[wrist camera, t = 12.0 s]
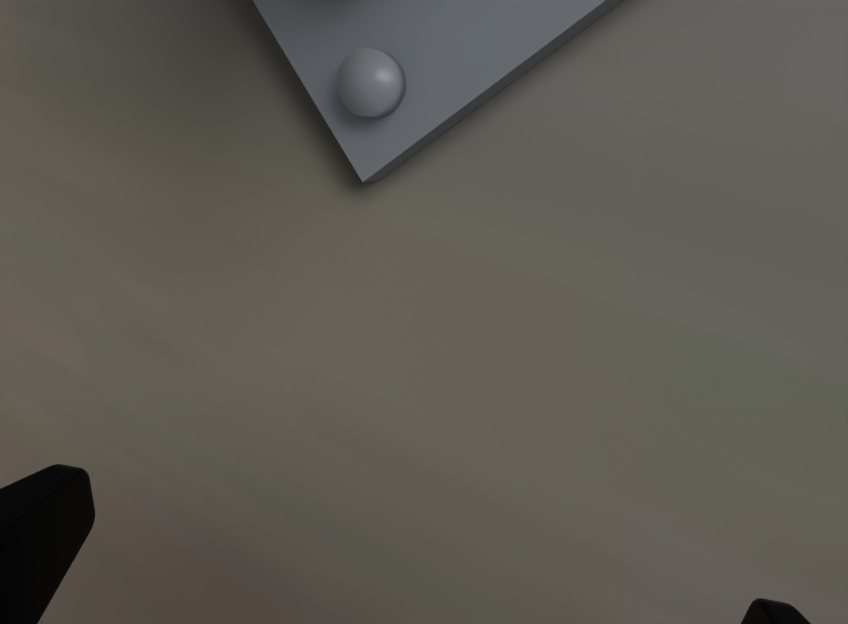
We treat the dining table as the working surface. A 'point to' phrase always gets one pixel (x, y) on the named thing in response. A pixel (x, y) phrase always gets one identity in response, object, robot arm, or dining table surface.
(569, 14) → the tower base
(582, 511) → the dining table surface
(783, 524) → the dining table surface
